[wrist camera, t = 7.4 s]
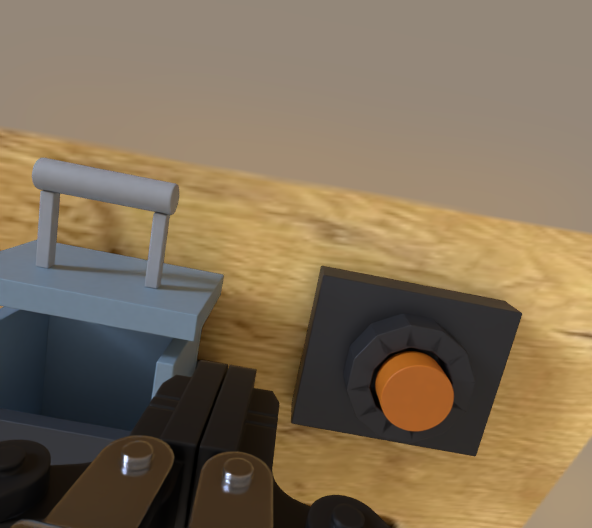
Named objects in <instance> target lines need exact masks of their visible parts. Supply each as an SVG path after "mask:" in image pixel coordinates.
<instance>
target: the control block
mask: <svg viewBox="0 0 592 528" xmlns="http://www.w3.org/2000/svg"><path fill="white" fill-rule="evenodd" d="M521 316H522V313H521V312H520V311H518V310H517V309H515V308H514V307H512V306H511V305H510V304H508V303H507V302H505V301H502V300H497V299H492V298H487V297H481V296H476V295H471V294H466V293H461V292H456V291H450V290H445V289H440V288H435V287H430V286H424V285H419V284H414V283H409V282H404V281H399V280H393V279H388V278H383V277H378V276H373V275H368V274H362V273H357V272H352V271H347V270H342V269H336V268H331V267H326V266H321V269H320V274H319V279H318V283H317V288H316V293H315V297H314V302H313V307H312V311H311V316H310V320H309V325H308V330H307V334H306V339H305V344H304V348H303V353H302V358H301V362H300V367H299V372H298V376H297V381H296V386H295V390H294V395H293V399H292V410H291V423H292V424H298V425H303V426H309V427H315V428H320V429H326V430H331V431H337V432H342V433H348V434H354V435H359V436H365V437H370V438H376V439H381V440H387V441H393V442H398V443H404V444H409V445H415V446H420V447H426V448H432V449H437V450H443V451H448V452H454V453H459V454H465V455H471V456H476V454H477V451H478V448H479V445H480V442H481V439H482V436H483V433H484V429H485V426H486V423H487V420H488V417H489V414H490V411H491V408H492V405H493V402H494V399H495V396H496V393H497V390H498V387H499V384H500V381H501V377H502V374H503V371H504V368H505V365H506V362H507V359H508V356H509V353H510V350H511V347H512V344H513V341H514V338H515V335H516V332H517V328H518V325H519V322H520V319H521ZM405 351H417V352H421V353H424V354H427V355H429V356H430V357H432V358H433V359H434V360H435V361H436V362H437V363H438V364H439V366H440V367H441V368H442V370H443V371H444V373H445V374H446V376H447V377H448V379H449V380H450V382H451V384H452V387H453V391H454V401H453V406H452V408H451V411H450V412H449V414H448V415H447V417H446V418H445V419H444V420H443V421H442V422H441V423H440V424H438V425H436V426H435V427H433V428H430V429H428V430H424V431H407V430H403V429H401V428H399V427H397V426H395V425H394V424H392V423H391V422H390V421H389V420H388V419H387V418H386V416H385V415H384V413H383V410H382V408H381V405H380V402H379V399H378V396H377V393H376V388H375V380H376V376H377V373H378V371H379V369H380V367H381V366H382V364H383V363H384V362H385V361H386V360H387V359H389V358H390V357H392V356H393V355H395V354H398V353H401V352H405Z"/></svg>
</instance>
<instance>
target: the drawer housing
mask: <svg viewBox="0 0 592 528" xmlns="http://www.w3.org/2000/svg"><path fill="white" fill-rule="evenodd" d="M199 362H200V360H197V362H196V368H197V366H198V364H199ZM131 432H132V431H127V430H122V429H116V428H110V427H105V426H99V425H93V424H88V423H82V422H76V421H71V420H65V419H59V418H54V417H48V416H42V415H37V414H31V413H25V412H20V411H14V410H8V409H3V408H0V442H1V441H6V440H30V441H35V442H37V443H40V444H42V445H43V446H45V447H46V448H47V449H48V450H49V452H50V455H51V464H50V465H65V464H80V463H88V462H92V461H93V460H94V459H95V458H96V457H97V455H98V454H99V453H100V452H101V451H102V450H103V449H104V448H105V447H106V446H107V445H108V444H110V443H111V442H113V441H115V440H117V439H120V438H123V437H127V436H129V435H130V433H131ZM187 528H188V526H187Z"/></svg>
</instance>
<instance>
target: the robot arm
mask: <svg viewBox="0 0 592 528" xmlns="http://www.w3.org/2000/svg"><path fill="white" fill-rule="evenodd" d="M256 371H257V369H251V368H246V367H240V366H234V365H230V366H229V368H228V364H223V363H217V362H211V361H206V360H200V362H199V364H198V366H197V368H196V369H195V371H194V373H193V375H192V377H188V376H182V375H175V376H173V377H172V378H170V379H168V380H167V381H165V382H163V383H162V384H161V386H160V388H159V389H158V391H157V392H156V394H155V397H153V399H152V400H151V402H150V403H149V406H147V408H146V410H145V411H144V413H143V414H142V416H141V417H140V419H139V421H138V422H137V424H136V425H135V427H134V428H133V430H132V432H131V433H130V435H129V436H127V437H123V438H120V439H117V440H115V441H113V442H111V443H110V444H108V445H107V446H106V447H105V448H104V449H103V450H102V451H101V452H100V453H99V454H98V455H97V457H96V458H95V459H94V460H93V461H92V462H88V463H80V464H65V465H50V464H51V455H50V452H49V450H48V449H47V448H46V447H45V446H43V445H42V444H40V443H37V442H35V441H30V440H6V441H1V442H0V528H187V526H188V528H390V527H389V526H388V525H387V524H386V523H385V522H384V521H383V520H382V519H381V518H380V517H379V516H378V515H377V514H376V513H375V512H374V511H373V510H372V509H371V508H369V507H368V506H367V505H365V504H364V503H362V502H360V501H358V500H356V499H354V498H351V497H347V496H342V495H329V496H325V497H322V498H320V499H318V500H316V501H315V502H314V503H313V504H312V506H311V507H310V506H308V505H305V504H303V503H301V502H299V501H297V500H295V499H293V498H291V497H290V496H288V495H287V494H286V493H285V492H283V491H282V490H281V489H280V487H279V486H278V485H277V483H276V482H275V480H274V477H273V473H272V466H273V457H274V448H275V439H276V430H277V421H278V412H279V402H278V400H277V398H276V396H275V395H274V393H273V391H268V390H262V389H257V388H254V383H255V377H256Z"/></svg>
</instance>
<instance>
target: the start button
mask: <svg viewBox="0 0 592 528" xmlns="http://www.w3.org/2000/svg"><path fill="white" fill-rule="evenodd" d="M375 388H376V393H377V396H378V399H379V402H380V405H381V408H382V410H383V413H384V415H385V416H386V418H387V419H388V420H389V421H390V422H391V423H392V424H394V425H395V426H397V427H399V428H401V429H403V430H407V431H424V430H428V429H430V428H433V427H435V426H436V425H438V424H440V423H441V422H442V421H443V420H444V419H445V418H446V417H447V415H448V414H449V412H450V411H451V408H452V406H453V401H454V391H453V387H452V384H451V382H450V380H449V379H448V377H447V376H446V374H445V373H444V371H443V370H442V368H441V367H440V366H439V364H438V363H437V362H436V361H435V360H434V359H433V358H432V357H430V356H429V355H427V354H424V353H421V352H417V351H405V352H401V353H398V354H395V355H393V356H392V357H390V358H389V359H387V360H386V361H385V362H384V363H383V364H382V366H381V367H380V369H379V371H378V373H377V376H376V380H375Z"/></svg>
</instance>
